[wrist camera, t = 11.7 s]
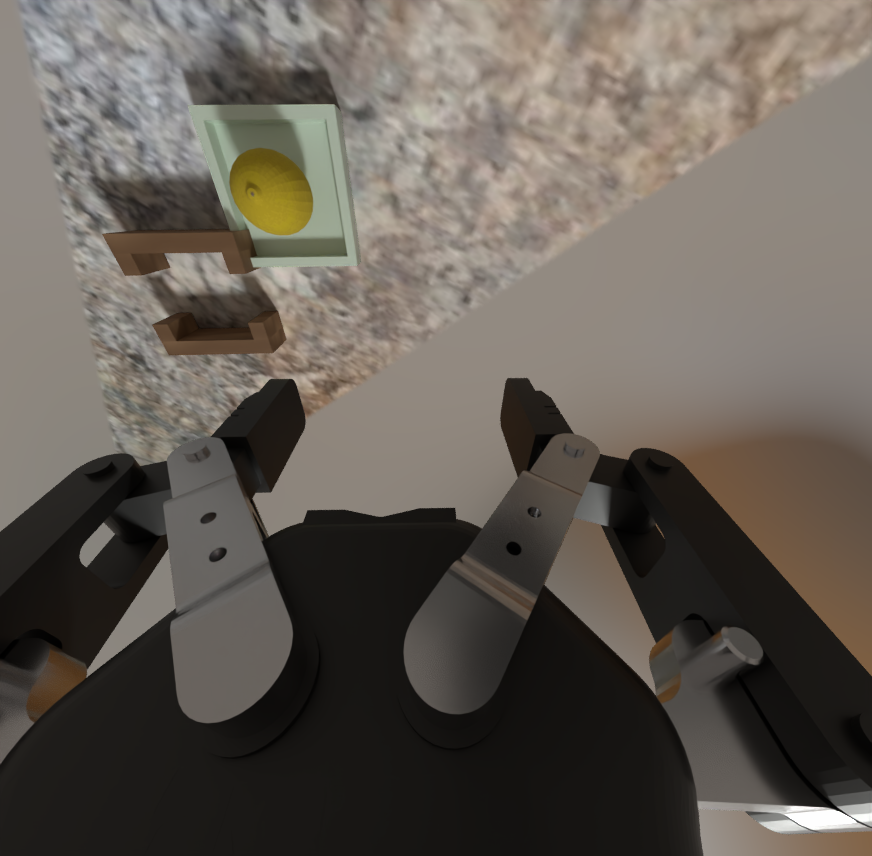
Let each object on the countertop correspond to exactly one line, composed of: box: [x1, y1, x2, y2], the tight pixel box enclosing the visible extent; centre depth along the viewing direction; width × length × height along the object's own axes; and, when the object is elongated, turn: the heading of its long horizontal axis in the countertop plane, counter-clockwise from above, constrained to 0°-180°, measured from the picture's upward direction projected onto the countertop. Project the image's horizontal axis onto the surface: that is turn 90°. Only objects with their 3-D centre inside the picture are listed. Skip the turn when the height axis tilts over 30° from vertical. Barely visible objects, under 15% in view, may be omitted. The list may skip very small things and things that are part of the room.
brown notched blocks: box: [102, 229, 286, 355], centre depth 32 cm, size 11×11×4 cm
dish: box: [188, 104, 361, 267], centre depth 28 cm, size 11×11×2 cm
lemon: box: [229, 148, 313, 236], centre depth 25 cm, size 6×6×8 cm
